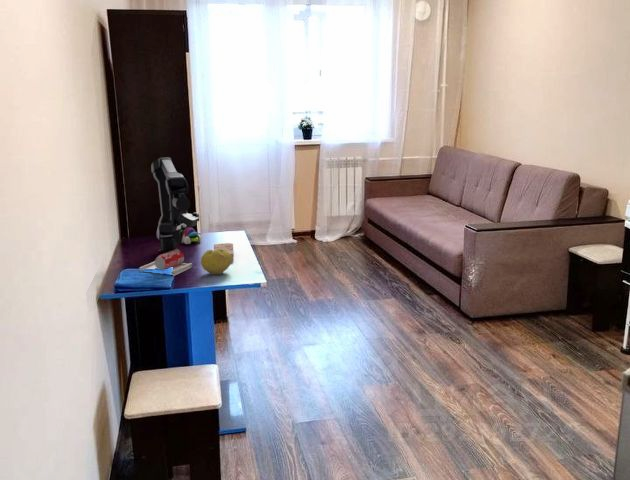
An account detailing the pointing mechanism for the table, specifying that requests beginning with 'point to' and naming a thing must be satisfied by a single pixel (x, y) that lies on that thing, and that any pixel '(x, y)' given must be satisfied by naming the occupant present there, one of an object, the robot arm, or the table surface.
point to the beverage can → (169, 259)
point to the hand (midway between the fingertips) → (179, 244)
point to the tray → (176, 269)
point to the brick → (226, 248)
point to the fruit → (216, 261)
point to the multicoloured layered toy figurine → (190, 236)
